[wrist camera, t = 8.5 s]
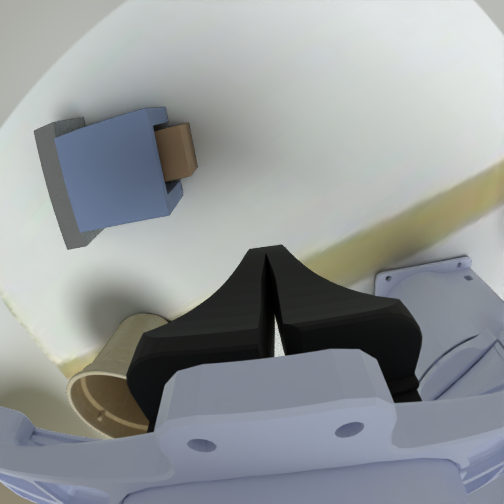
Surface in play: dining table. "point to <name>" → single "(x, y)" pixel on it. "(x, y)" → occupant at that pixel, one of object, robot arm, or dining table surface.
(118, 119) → the socket block
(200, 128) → the dining table surface
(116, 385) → the flower pot
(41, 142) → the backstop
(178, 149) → the walnut peg
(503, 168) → the dining table surface
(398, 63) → the dining table surface
